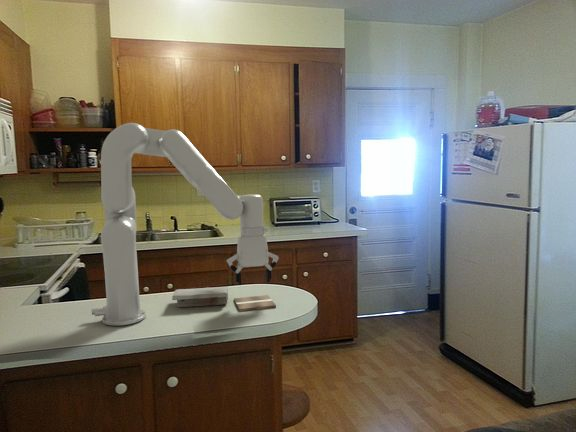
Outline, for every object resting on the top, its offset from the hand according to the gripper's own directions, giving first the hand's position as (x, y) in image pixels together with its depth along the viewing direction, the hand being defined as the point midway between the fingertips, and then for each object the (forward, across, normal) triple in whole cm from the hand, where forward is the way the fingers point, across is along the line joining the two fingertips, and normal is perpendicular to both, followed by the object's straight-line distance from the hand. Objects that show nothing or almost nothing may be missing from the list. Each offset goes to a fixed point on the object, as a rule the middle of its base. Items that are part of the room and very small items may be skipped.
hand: (253, 282), depth 148 cm
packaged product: (+5, +18, 0) cm, 18 cm away
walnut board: (+7, 0, 0) cm, 7 cm away
